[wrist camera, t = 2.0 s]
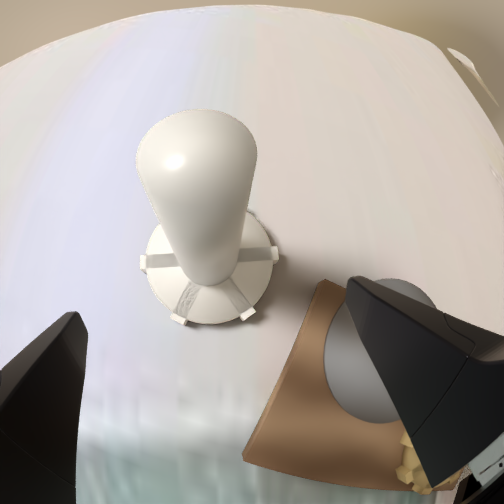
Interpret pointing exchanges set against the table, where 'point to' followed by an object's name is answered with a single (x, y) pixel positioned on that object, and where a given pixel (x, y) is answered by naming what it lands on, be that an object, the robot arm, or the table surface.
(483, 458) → the robot arm
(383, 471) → the gear board
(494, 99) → the table surface
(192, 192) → the gear spindle
